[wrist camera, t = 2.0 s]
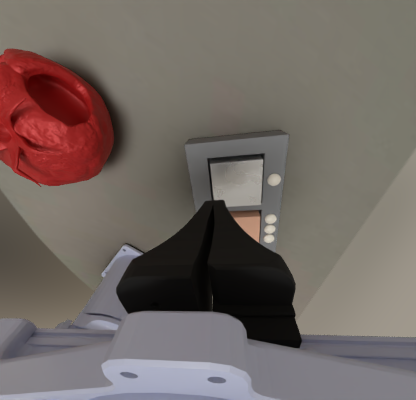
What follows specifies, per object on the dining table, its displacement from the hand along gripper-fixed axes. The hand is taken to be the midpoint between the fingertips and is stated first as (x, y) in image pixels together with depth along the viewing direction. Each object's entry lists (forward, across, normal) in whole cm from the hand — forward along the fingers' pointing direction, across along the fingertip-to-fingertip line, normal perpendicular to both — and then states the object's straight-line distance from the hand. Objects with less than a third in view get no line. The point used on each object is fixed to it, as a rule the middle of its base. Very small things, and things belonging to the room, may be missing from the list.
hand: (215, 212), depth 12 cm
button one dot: (+7, -2, 0) cm, 7 cm away
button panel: (+8, -2, +6) cm, 11 cm away
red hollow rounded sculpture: (+8, +14, -6) cm, 17 cm away
